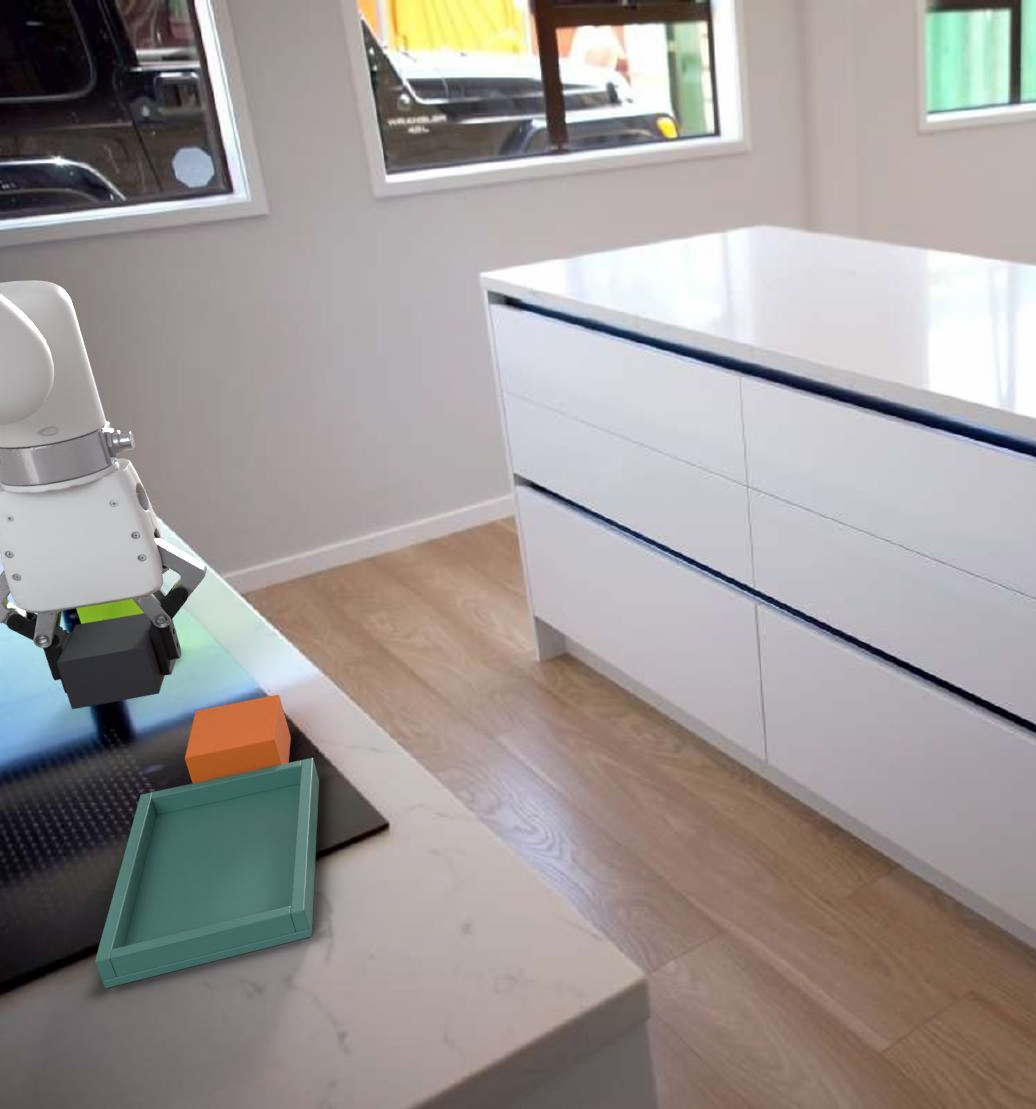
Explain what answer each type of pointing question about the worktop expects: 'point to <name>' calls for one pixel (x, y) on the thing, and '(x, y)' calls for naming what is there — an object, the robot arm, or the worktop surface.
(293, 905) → the tray
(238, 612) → the worktop surface
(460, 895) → the worktop surface
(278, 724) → the orange block
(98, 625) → the dark grey block
